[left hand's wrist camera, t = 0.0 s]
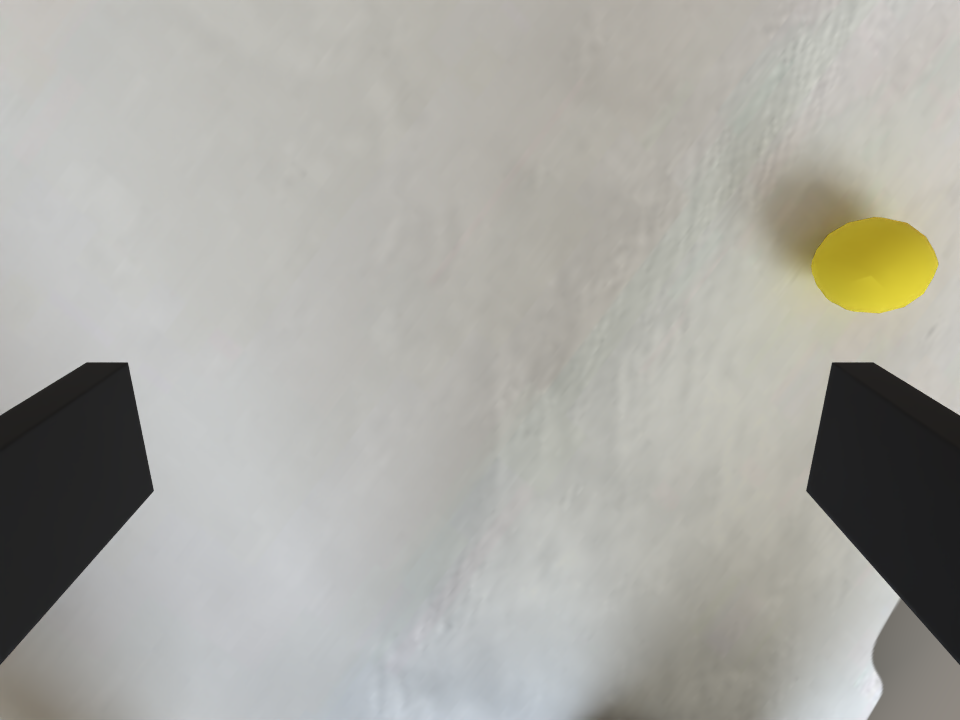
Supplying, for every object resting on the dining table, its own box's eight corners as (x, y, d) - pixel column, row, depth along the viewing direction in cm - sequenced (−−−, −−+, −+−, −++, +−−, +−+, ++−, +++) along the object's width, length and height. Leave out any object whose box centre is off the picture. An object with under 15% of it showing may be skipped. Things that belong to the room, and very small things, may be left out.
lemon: (783, 298, 40) (826, 324, 35) (798, 209, 38) (847, 223, 33) (895, 300, 40) (955, 325, 35) (917, 211, 38) (983, 225, 33)
